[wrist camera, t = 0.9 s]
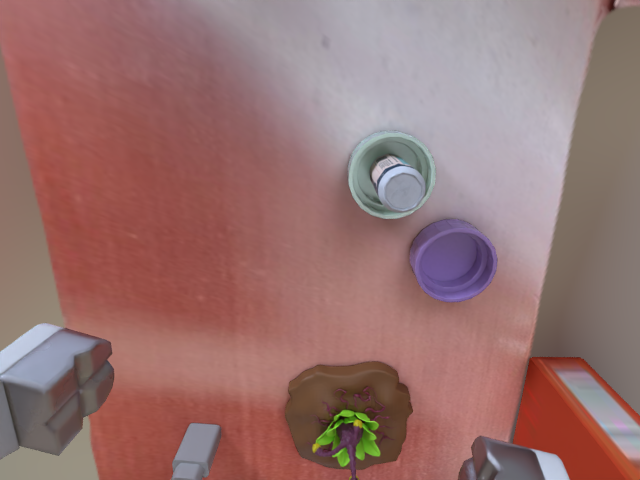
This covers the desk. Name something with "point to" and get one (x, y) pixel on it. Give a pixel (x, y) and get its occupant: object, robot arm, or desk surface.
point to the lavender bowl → (453, 260)
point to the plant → (348, 415)
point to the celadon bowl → (376, 147)
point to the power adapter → (196, 452)
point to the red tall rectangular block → (578, 420)
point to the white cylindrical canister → (397, 183)
